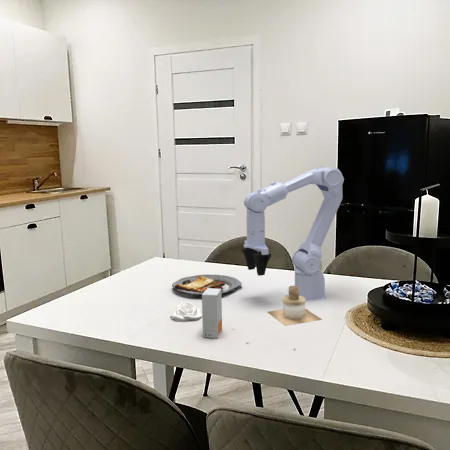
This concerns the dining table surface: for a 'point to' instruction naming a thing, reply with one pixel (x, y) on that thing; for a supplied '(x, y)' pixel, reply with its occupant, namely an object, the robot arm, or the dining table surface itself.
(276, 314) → the square wooden coaster
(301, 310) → the jar
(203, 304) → the skincare box
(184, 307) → the rose
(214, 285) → the food plate
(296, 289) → the lid
